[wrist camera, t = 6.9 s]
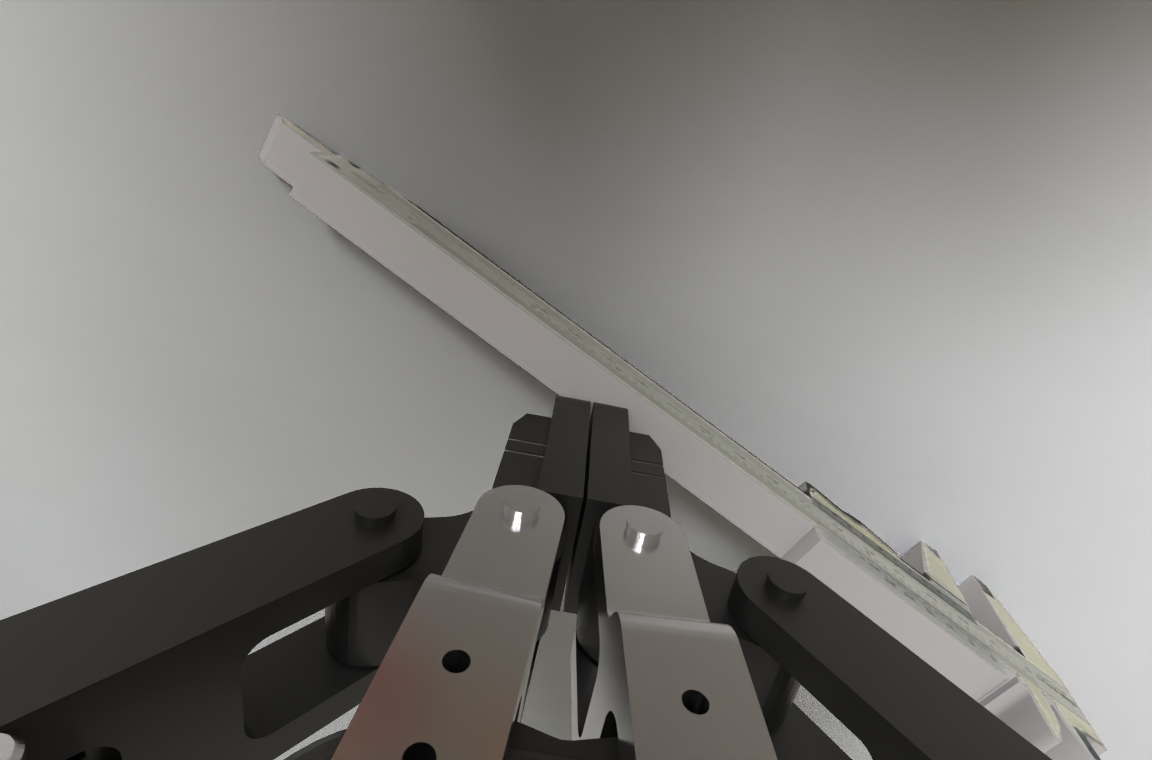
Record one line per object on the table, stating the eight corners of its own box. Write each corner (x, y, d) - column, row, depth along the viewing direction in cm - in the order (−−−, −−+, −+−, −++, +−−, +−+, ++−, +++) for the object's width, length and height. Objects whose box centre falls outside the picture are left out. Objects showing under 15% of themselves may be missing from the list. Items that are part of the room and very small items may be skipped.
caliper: (981, 573, 17) (1177, 816, 11) (949, 598, 17) (1122, 847, 11) (286, 112, 13) (25, 110, 7) (266, 158, 13) (4, 192, 8)
